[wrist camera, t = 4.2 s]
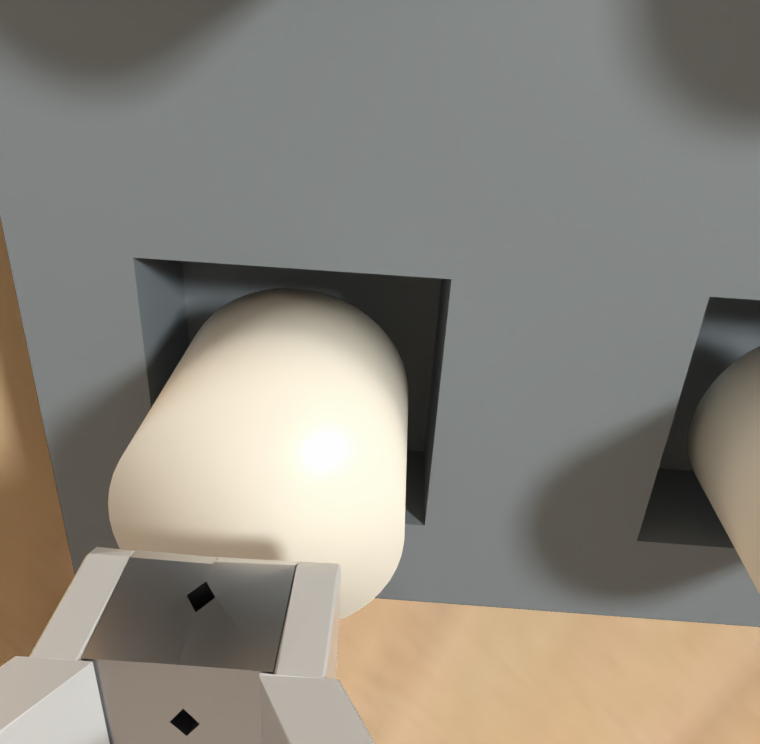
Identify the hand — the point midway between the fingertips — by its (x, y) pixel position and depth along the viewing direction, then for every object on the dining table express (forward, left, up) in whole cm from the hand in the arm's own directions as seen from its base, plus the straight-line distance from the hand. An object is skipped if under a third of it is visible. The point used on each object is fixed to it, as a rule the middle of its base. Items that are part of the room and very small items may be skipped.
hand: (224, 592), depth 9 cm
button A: (0, 0, -5) cm, 5 cm away
